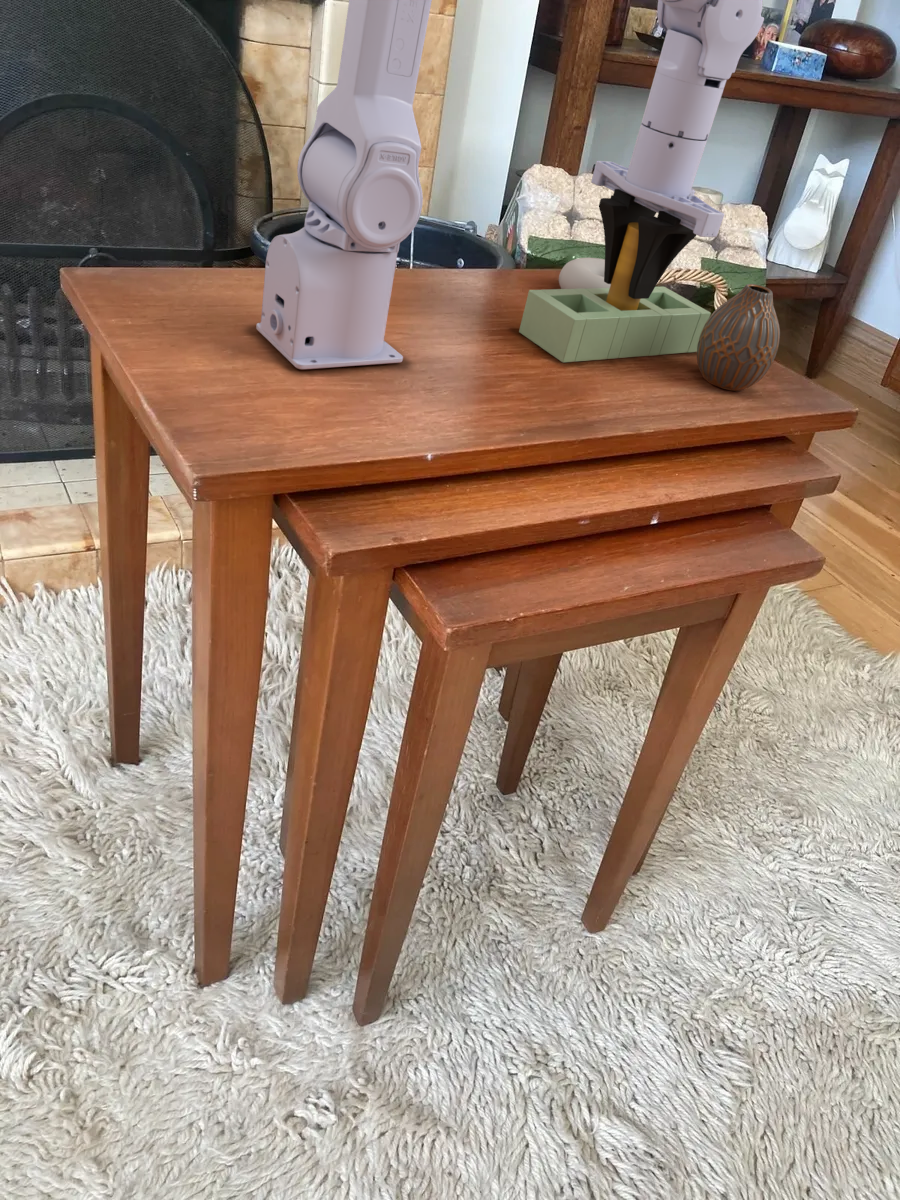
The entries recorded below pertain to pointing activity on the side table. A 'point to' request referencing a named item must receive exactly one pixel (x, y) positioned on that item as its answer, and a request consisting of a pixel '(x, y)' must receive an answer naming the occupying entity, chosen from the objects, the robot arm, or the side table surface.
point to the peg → (625, 272)
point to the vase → (739, 340)
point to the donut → (583, 274)
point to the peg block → (610, 324)
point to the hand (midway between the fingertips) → (626, 290)
